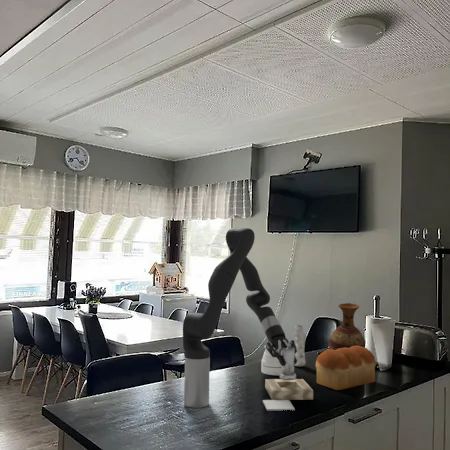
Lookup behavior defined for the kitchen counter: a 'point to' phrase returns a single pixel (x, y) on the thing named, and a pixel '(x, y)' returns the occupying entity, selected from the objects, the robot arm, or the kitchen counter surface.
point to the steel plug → (288, 363)
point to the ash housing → (288, 389)
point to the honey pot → (270, 364)
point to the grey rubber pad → (278, 405)
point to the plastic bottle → (299, 345)
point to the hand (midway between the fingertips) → (289, 364)
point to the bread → (345, 367)
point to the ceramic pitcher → (346, 330)
